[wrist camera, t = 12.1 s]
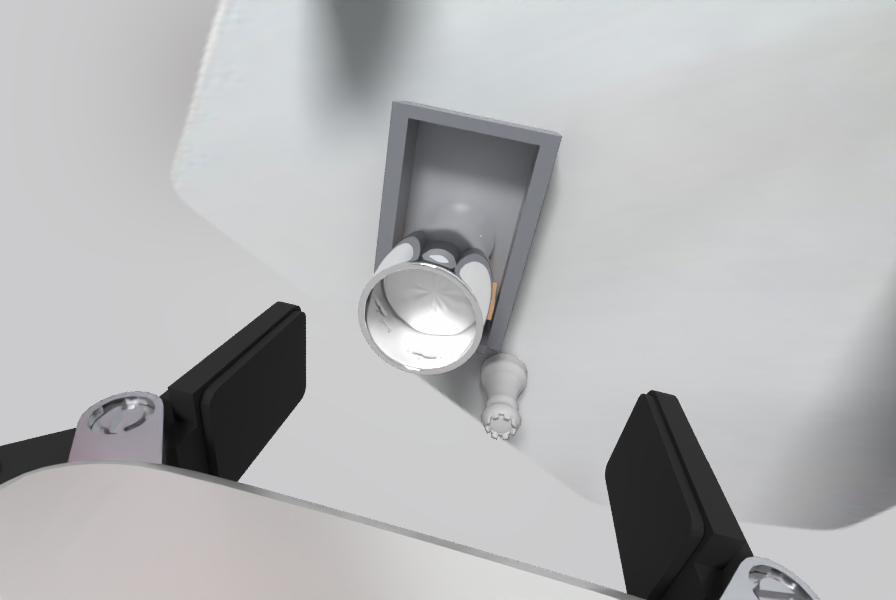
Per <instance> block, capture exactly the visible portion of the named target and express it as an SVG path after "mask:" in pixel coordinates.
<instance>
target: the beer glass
mask: <svg viewBox="0 0 896 600" xmlns="http://www.w3.org/2000/svg"><path fill="white" fill-rule="evenodd" d="M494 242H495V235H494V229H493V226H492V224H491V221H490V220H489V218H488V217H487V215H486V214H485V213H484V212H483V211H482V210H480V209H479V208H478V207H476V206H474V205H472V204H469V203H466V202H459V201H455V202H448V203H445V204H443V205H440V206H439V207H437V208H436V209H434V210H433V211H432V212H431V213H430V215H429V216H428V217H427V219H426V221H425V223H424V226H423V228H420V229H418V230H416V231H414V232H413V233H411V234H410V235H408V236H406V237H405V238H403V239H402V240H401V241H400V242H399V243H398V244H397V245H396V246H395V247H394V248H393V249H392V250H391V251H390V252H389V253H388V254H387V256H386V257H385V258H384V260H383V261H382V262H381V264H380V265H379V267H378V268H377V270H376V272H375V273H374V275H373V277H372V279H371V280H370V281H369V283H368V284H367V285H366V287H365V289H364V290H363V293H362V295H361V298H360V302H359V308H358V316H359V323H360V327H361V330H362V333H363V335H364V337H365V339H366V341H367V342H368V344H369V345H370V347H371V348H372V349H373V350H374V351H375V353H376V354H378V356H380V357H381V358H382V359H383V360H385V361H386V362H387V363H389V364H391V365H392V366H394V367H396V368H398V369H401V370H403V371H406V372H410V373H414V374H420V375H435V374H441V373H445V372H448V371H451V370H454V369H456V368H458V367H459V366H461V365H462V364H464V363H465V362H466V361H467V360H468V359H469V358H470V357H471V356H472V355H473V354H474V352H475V351H476V349H477V347H478V345H479V343H480V340H481V337H482V332H483V329H484V326H485V323H486V320H487V317H488V313H489V309H490V305H491V300H492V290H493V277H492V270H491V264H490V261H489V257H490V255H491V253H492V250H493V247H494Z"/></svg>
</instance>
